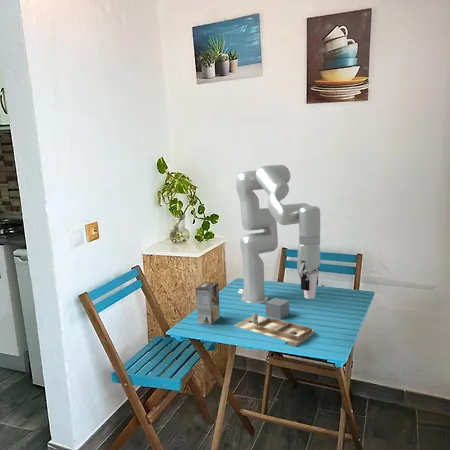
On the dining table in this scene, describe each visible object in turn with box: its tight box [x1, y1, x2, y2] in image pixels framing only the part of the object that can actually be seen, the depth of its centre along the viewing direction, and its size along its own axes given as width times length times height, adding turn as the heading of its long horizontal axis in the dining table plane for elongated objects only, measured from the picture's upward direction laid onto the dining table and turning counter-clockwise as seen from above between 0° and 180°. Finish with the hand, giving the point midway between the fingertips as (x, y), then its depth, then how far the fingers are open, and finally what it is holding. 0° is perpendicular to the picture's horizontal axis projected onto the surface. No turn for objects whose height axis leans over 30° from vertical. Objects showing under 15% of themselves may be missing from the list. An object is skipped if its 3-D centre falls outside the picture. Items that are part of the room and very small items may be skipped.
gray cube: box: [265, 297, 290, 321], centre depth 182 cm, size 7×7×7 cm
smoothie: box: [303, 270, 319, 300], centre depth 162 cm, size 6×6×14 cm
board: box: [233, 312, 316, 347], centre depth 169 cm, size 28×14×5 cm, turn 51°
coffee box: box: [195, 281, 221, 326], centre depth 179 cm, size 9×6×16 cm
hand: (309, 287), depth 163 cm, fingers closed on smoothie, 6 cm apart
